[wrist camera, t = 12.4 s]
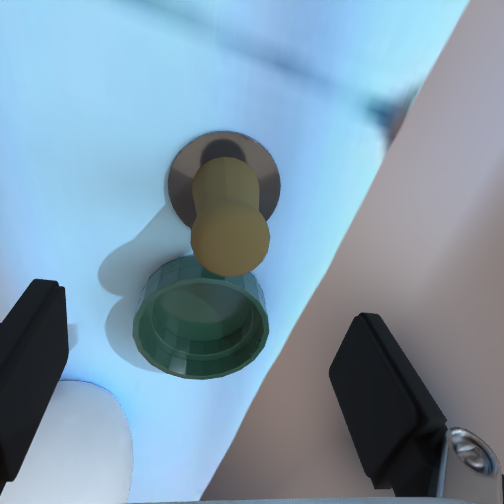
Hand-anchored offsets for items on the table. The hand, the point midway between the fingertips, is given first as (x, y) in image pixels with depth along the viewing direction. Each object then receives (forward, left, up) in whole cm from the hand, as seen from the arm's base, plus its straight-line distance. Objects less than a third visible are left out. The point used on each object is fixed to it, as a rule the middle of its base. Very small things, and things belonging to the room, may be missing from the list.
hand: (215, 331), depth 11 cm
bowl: (+1, -16, -21) cm, 27 cm away
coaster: (+1, -2, -21) cm, 21 cm away
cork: (+1, -2, -21) cm, 21 cm away
